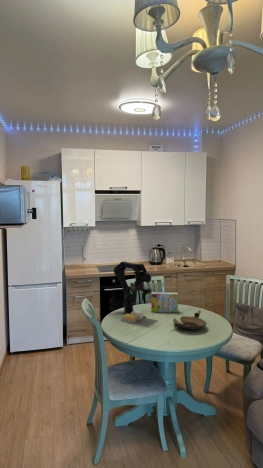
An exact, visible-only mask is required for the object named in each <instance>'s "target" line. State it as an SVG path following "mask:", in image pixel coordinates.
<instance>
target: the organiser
mask: <svg viewBox="0 0 263 468" xmlns="http://www.w3.org/2000/svg"><path fill="white" fill-rule="evenodd" d="M120 322H125V323H128V324H133V325H136V326H141V327H143V328H149V327H150V326H152V325H154V324H155V323H157V322H159V320H157V319H152V318H148V317H147V316H146V315H143V318H142V319H141V318H137V321H136V322H133V321H129V320H125V319H124V318H121V319H120Z"/></svg>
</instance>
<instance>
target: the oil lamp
mask: <svg viewBox="0 0 263 468" xmlns="http://www.w3.org/2000/svg"><path fill="white" fill-rule="evenodd" d="M201 311H202V310H200V309H199V310H198V311H197V312H194V316H188V315H187V316H181V317H179V319H180V321H179V320H177V318H172V322H173V323H174V324H175V325H177V326H179V327H181V328H184V329H187V330H195V329H196V330H197V329H201V328H203V327H206V326H207V322H206V320H203V319H202V318H200V315H201Z"/></svg>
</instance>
